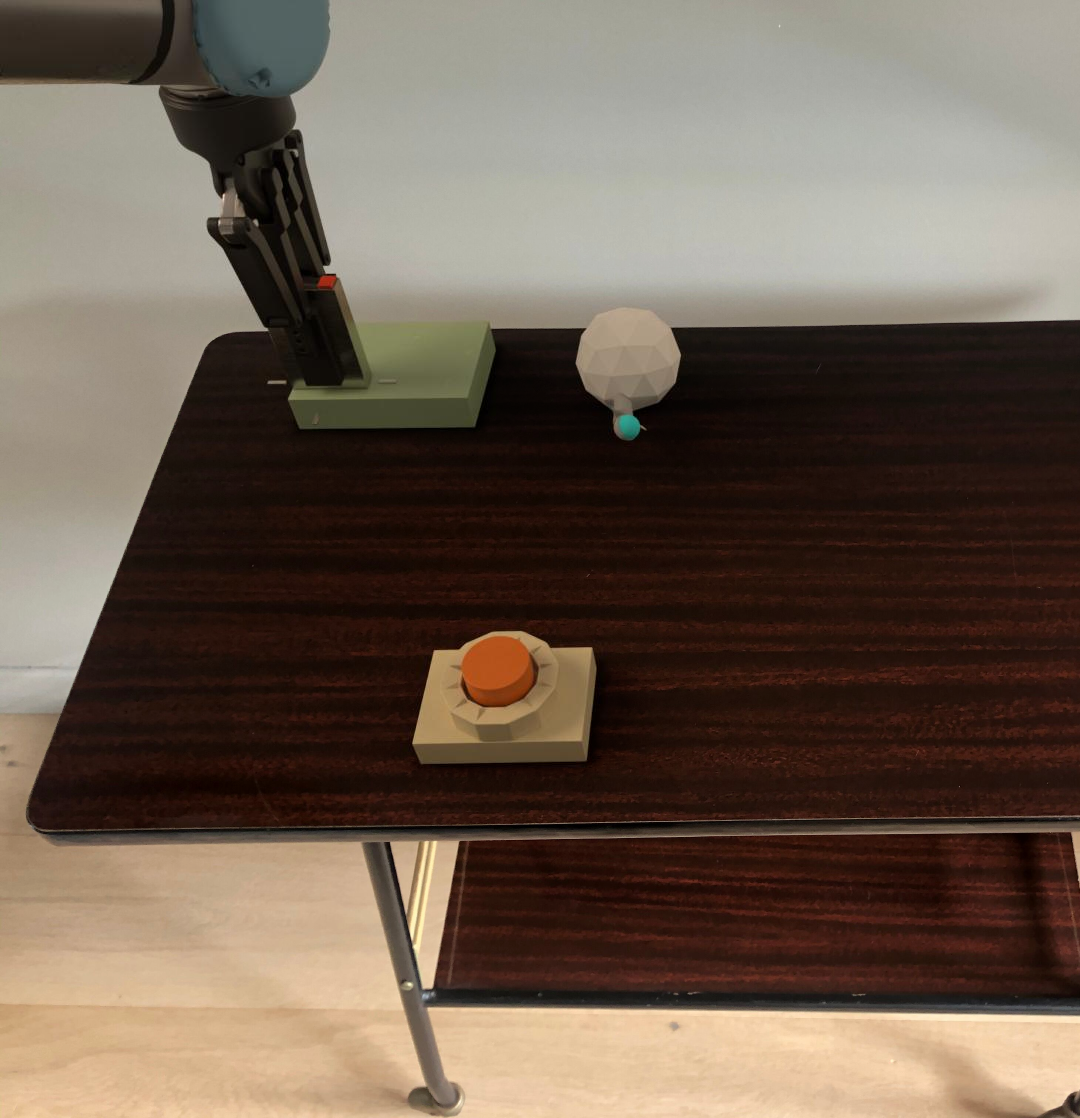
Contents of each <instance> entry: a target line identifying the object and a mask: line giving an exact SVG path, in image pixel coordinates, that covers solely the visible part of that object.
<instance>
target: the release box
mask: <svg viewBox="0 0 1080 1118" xmlns="http://www.w3.org/2000/svg"><path fill="white" fill-rule="evenodd" d="M495 636H507V637H512V638H515V639H517V640H519V641H520V642H522V643H523V644H524V645H525V646H526V648H527V649H528V652H529V655H530V659H531V662H532V666H533V670H534V681H533V684H532V686H531V688H530V690H529V691H528V692H527V693H526V694H525V695H524V696H523V697H522V698H521V699H519V700H518V701H516V702H514V703H512V704H509V705H506V706H501V707H490V706H485V705H482V704H480V703H478V702H477V701H475V700H474V699H473V698H472V697H471V695H470V694H469V692H468V689H467V686H466V683H465V680H464V677H463V675H462V670H461V666H462V661H463V658H464V656H465V654H466V653H467V652H468V650H469V649H470V648H471V647H472V646H474V645H475V644H476V643H478V642H480V641H482V640H484V639H487V638H490V637H495ZM597 669H598V668H597V664H596V659H595V654H594V649H593V647H592V646H591V647H589V646H588V647H586V646H585V647H550V645H549V644H548V642H546V641H544V640H542V639H540V638H538V637H536V636H535V635H534V636H533V635H532V634H529V633H528V632H525V631H522V630H518V631H517V630H515V631H514V630H509V631H507V630H506V631H491V632H489V633H487V634H483V635H482V636H480V637H477V638H475V639H473V640H471V641H468V642H466V643H465V644H464V645H462V646H461V647H460V649H437V650H435V649H434V650H433V653H432V658H431V662H430V667H429V671H428V676H427V679H426V684H425V688H424V692H423V697H422V700H421V705H420V709H419V714H418V718H417V722H416V727H415V731H414V735H413V740H412V746H413V749H414V751H415V754H416V755H417V758H418V760H419V763H420V764H421V765H431V764H432V765H439V764H440V765H443V764H445V765H446V764H447V765H448V764H495V763H496V764H498V763H501V764H502V763H503V764H504V763H506V764H507V763H557V762H559V763H561V762H587V759H588V750H589V741H590V733H591V732H590V731H591V725H592V724H591V722H592V716H593V715H592V713H593V706H594V696H595V688H596V687H595V685H596V676H597Z"/></svg>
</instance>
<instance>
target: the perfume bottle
mask: <svg viewBox="0 0 1080 1118" xmlns="http://www.w3.org/2000/svg"><path fill="white" fill-rule="evenodd" d="M681 357H682V355H681V350H680V349H679V346H678V343H677V340H676V339H675V336H674V333H673V331H672V328H671V327H670V326H669V325H668V324H667V323H666V322H664V321H663V320H662V319H660V317H659V316H657V315H656V314H655V313H654V312H653V311H652V310H648V309H640V308H632V307H625V306H622V307H618V308H616V309H612V310H608V311H605V312H602V313H598V314H596V316H595V317H594V318H593V319H592V321H591V322H590V323H589V324H588V326H587V327H586V329H585V330H584V331H583V333H582V334H581V336H580V340H579V345H578V350H577V354H576V360H575V365H576V368H577V371H578V373H579V376H580V379H581V382H582V384H583V386H584V389H585V391H586V392H588V393H589V394H590V395H592V397H594V398H595V399H596V400H597V401H599V402H601V403H602V404H603V405H604V406H606V407H608V409H610V410H611V411H612V413H613V418H612V419H613V420H612V424H613V431H614V433H615V435H616V437H618V438H619V439H621V440H622V441H633V440H635V438H636V437H637V436H638V435H639V433H640V431H641V429H642V430H644V431H647V428H645V427H644V426H643V425H641V424H640V421H639V419H637V417H635V416H634V412H635V411H637V410H640V409H643V408H646V407H649V406H653V405H655V404H658V403H660V402H661V400H662V399H663V398H664V397H665V396H666V395H667V394H668V392H670V390H671V389H672V388H673V387H674V385H675V384H676V382H677V377H678V372H679V367H680V361H681Z"/></svg>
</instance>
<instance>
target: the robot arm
mask: <svg viewBox="0 0 1080 1118" xmlns="http://www.w3.org/2000/svg"><path fill="white" fill-rule="evenodd" d="M330 6H331V4H330V0H0V86H14V85H16V86H18V85H22V86H24V85H29V86H30V85H98V84H100V85H101V84H103V85H104V84H110V85H111V84H112V85H125V86H159V88H158V97H159V99H160V101H161V103H162V107H163V108H164V111H165V113H166V115H167V118H168V121H169V123H170V125H171V128H172V130H173V132H174V135H175V138H176V139H177V141H178V142H179V144H180V145H181V146H182V147H183V148H184V149H186V150H188V151H189V152H192V153H193V154H196V155H198V156H200V157H201V158H202V159H204V160H205V161H206V162H207V163H208V164H209V168H210V173H211V178H212V185H213V188H214V191H215V193H216V195H217V196H218V197H219V198H220V199H221V207H220V214H219V216H210V217H208V218H207V219H206V230H207V233H208V235H209V236H210V237H211V238H212V240H214V241H215V243H216V244H218V245H219V246H220V248H221V249H222V250H223V251H224V254H225V256H226V258H227V260H228V261H229V263H230V266H231V268H232V269H233V271H234V273H235V275H236V277H237V279H238V281H239V283H240V284H241V286H242V288H243V290H244V292H245V294H246V296H247V297H248V300H249V301H250V303H251V305H252V308H253V310H254V311H255V313H256V315H257V317H258V319H259V320H260V322H261V324H262V326H263V328H265V329H267V328H284V330H285V333H286V335H287V338H288V340H289V343H290V346H291V348H292V351H293V353H294V356H295V358H296V361H297V363H298V366H299V368H300V371H301V374H302V376H303V379H304V381H305V384H306V386H341V385H342V383H343V380H344V379H343V376H342V374H341V371H340V368H339V365H338V363H337V360H336V357H335V354H334V351H333V349H332V346H331V343H330V340H329V338H328V335H327V332H326V329H325V326H324V324H323V321H322V318H321V315H320V313H319V310H318V309H311V306H310V303H309V300H308V297H307V294H306V290H305V287H304V284H303V281H302V278H321V277H322V276H336V278H338V277H337V273H335V272H334V273H326V270H325V268H324V267H329V266H330V265H331V263H332V257H331V253H330V249H329V244H328V241H327V238H326V234H325V230H324V226H323V223H322V222H323V221H322V218H321V215H320V211H319V208H318V207H319V206H318V203H317V200H316V196H315V193H314V189H313V184H312V180H311V177H310V172H309V170H308V166H307V161H306V153H305V143H304V137H303V134H302V131H301V130H300V129H298V128H296V129H295V125H296V122H297V112H296V109H295V106H294V103H293V99H292V97H291V96H292V95H294V94H296V93H298V92H300V91H301V90H302V89H303V88H305V87H306V86H307V85H308V84H309V83H310V82H312V80H313V79H314V78H315V76H316V75H317V73H318V72H319V71H320V68H321V66H322V64H323V62H324V60H325V57H326V56H327V51H328V48H329V44H330V38H331V29H330V25H329V24H330V20H331V16H330V12H329V11H330Z"/></svg>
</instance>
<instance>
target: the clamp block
mask: <svg viewBox="0 0 1080 1118" xmlns="http://www.w3.org/2000/svg"><path fill="white" fill-rule="evenodd" d="M355 325H356V328H357V331H358V334H359V337H360V340H361V343H362V346H363V349H364V352H365V355H366V358H367V361H368V364H369V367H370V370H371V373H372V378H371V381H370V383H369V386H368V388H336V389H292V388H291V389H292V390H291V391H290V394H289V395H288V397H287V398H288V399H287V401H288V404H289V406H290V408H291V411H292V413H293V416H294V418H295V421H296V423H297V425H298V428H299V429H300V430H332V429H333V430H334V429H335V430H338V429H340V430H341V429H343V430H344V429H425V428H427V429H429V428H431V429H432V428H436V429H437V428H438V429H441V428H476V424H477V420H478V417H479V413H480V410H481V406H482V402H483V399H484V395H485V391H486V387H487V384H488V380H489V377H490V373H491V369H492V365H493V362H494V358H495V355H496V351H497V349H496V345H495V341H494V337H493V333H492V328H491V324H490V321H489V320H475V321H474V320H472V321H471V320H467V321H466V320H464V321H461V320H460V321H409V322H408V321H401V322H400V321H399V322H397V321H396V322H394V321H393V322H392V321H391V322H388V321H387V322H355ZM286 384H287V380H268V381H267V386H286Z"/></svg>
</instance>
